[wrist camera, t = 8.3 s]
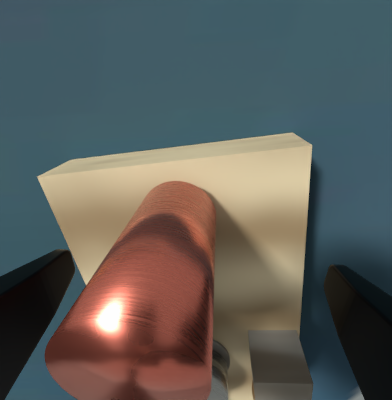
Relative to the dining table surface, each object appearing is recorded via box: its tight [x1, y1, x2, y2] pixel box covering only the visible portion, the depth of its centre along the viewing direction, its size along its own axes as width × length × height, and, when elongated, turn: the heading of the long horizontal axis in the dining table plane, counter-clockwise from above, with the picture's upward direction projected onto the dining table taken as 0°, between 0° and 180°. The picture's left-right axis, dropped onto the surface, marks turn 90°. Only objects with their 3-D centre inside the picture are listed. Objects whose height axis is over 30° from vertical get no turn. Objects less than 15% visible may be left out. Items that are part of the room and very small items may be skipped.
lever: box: [45, 181, 228, 400], centre depth 12 cm, size 19×4×7 cm, turn 4°
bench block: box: [38, 133, 313, 400], centre depth 15 cm, size 22×13×6 cm, turn 8°
